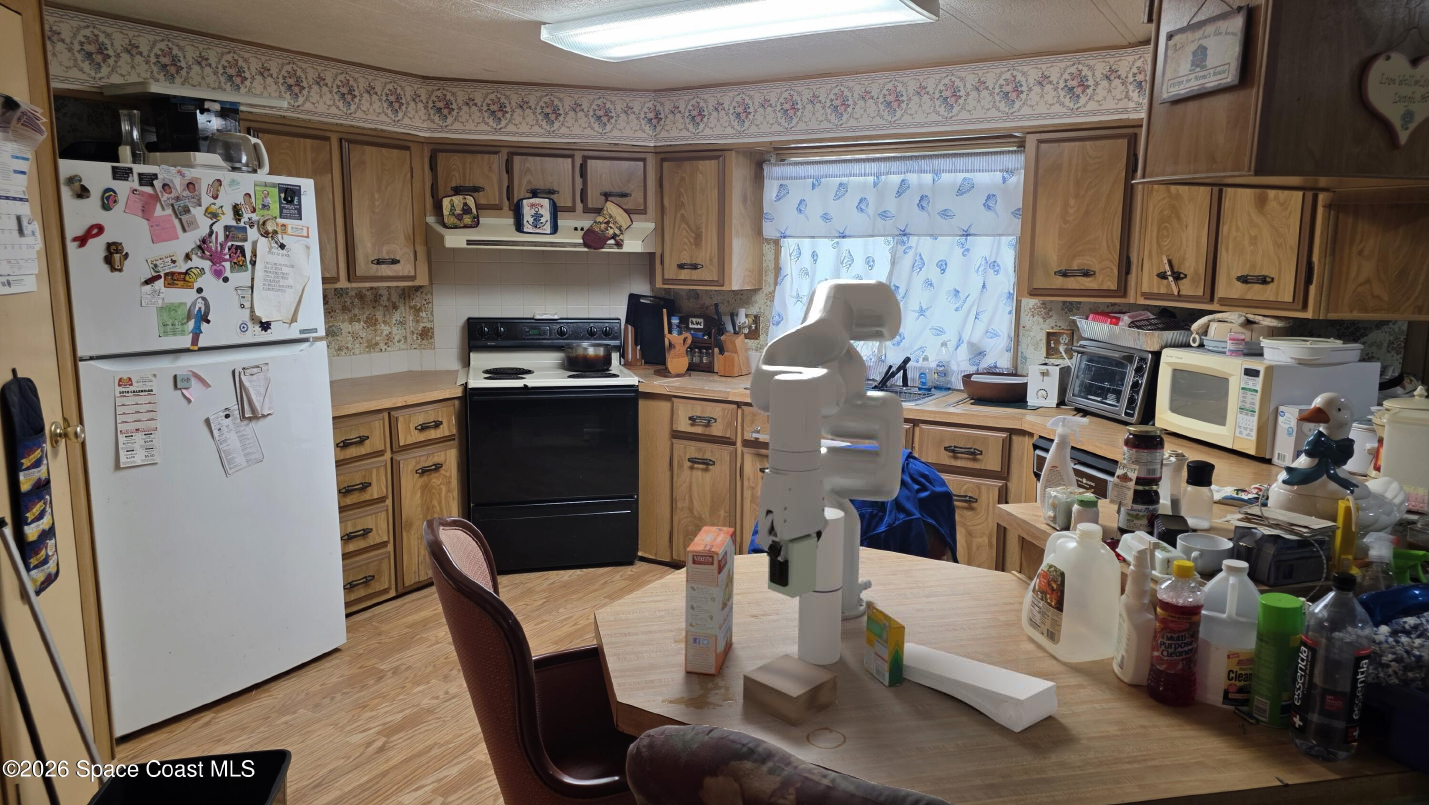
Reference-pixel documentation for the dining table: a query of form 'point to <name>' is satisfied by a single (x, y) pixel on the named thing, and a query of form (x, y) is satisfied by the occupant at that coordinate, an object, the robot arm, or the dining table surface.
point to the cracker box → (709, 599)
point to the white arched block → (983, 686)
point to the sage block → (798, 567)
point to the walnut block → (789, 690)
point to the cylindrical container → (824, 598)
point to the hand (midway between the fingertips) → (792, 578)
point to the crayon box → (884, 646)
